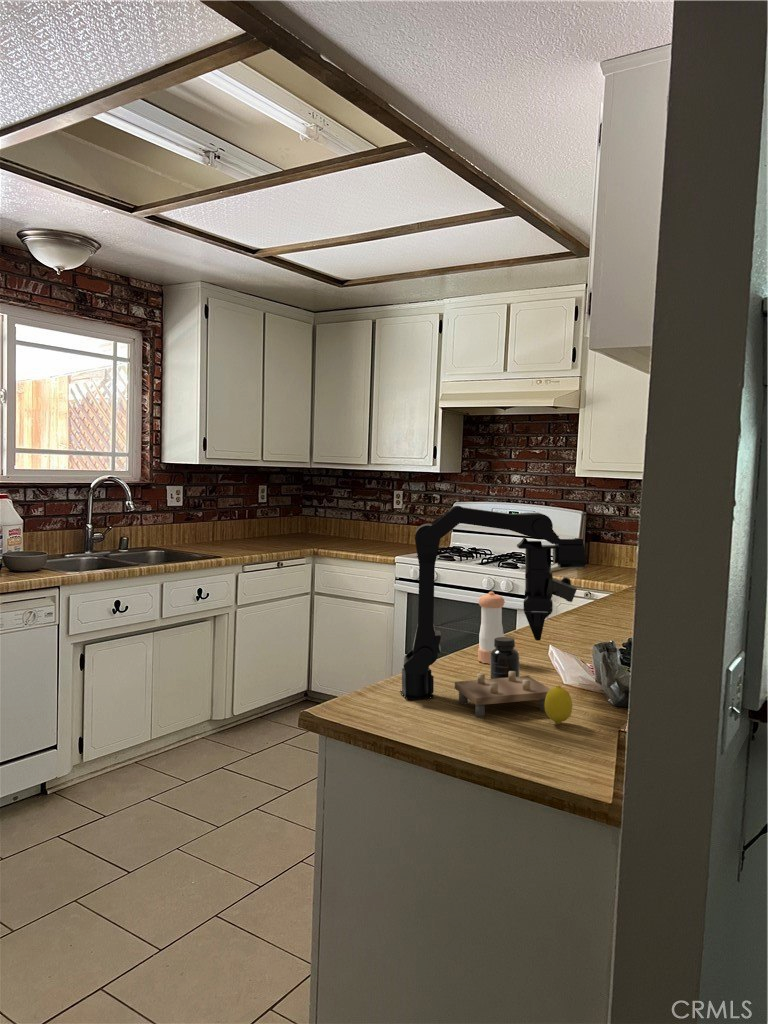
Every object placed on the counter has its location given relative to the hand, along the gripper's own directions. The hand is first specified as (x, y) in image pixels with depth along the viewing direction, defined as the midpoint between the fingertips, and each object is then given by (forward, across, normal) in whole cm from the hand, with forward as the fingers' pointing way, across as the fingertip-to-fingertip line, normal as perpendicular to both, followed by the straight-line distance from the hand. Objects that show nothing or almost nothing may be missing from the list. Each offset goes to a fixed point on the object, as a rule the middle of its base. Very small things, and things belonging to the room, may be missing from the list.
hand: (537, 636), depth 176 cm
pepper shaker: (+14, +31, +12) cm, 37 cm away
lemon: (+14, -19, -4) cm, 24 cm away
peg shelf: (+14, -9, +7) cm, 18 cm away
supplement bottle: (+14, +6, +8) cm, 17 cm away
